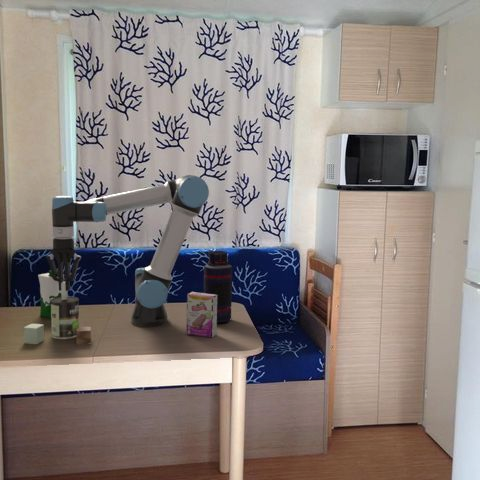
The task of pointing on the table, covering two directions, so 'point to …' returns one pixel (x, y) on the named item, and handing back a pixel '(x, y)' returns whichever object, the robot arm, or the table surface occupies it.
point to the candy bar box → (201, 314)
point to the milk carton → (48, 292)
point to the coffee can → (64, 317)
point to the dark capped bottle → (219, 283)
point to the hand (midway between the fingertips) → (64, 298)
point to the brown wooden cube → (83, 335)
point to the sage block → (34, 333)
